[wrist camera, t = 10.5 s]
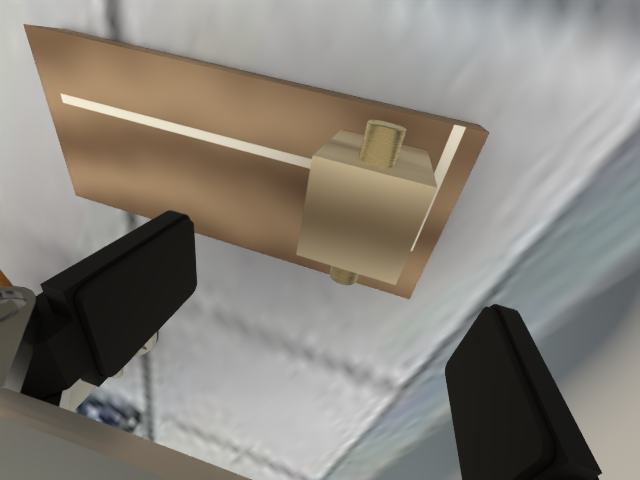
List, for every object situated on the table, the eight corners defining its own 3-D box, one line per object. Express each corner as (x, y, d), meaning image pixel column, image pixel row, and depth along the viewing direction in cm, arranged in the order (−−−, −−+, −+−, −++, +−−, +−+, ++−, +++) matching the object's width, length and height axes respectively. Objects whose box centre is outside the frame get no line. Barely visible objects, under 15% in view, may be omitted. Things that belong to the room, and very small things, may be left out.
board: (409, 278, 23) (409, 299, 21) (101, 185, 27) (75, 195, 25) (479, 125, 17) (489, 132, 15) (62, 28, 20) (22, 24, 18)
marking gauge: (391, 246, 19) (386, 307, 14) (321, 225, 20) (292, 277, 15) (438, 122, 15) (454, 148, 10) (346, 101, 16) (319, 115, 11)
